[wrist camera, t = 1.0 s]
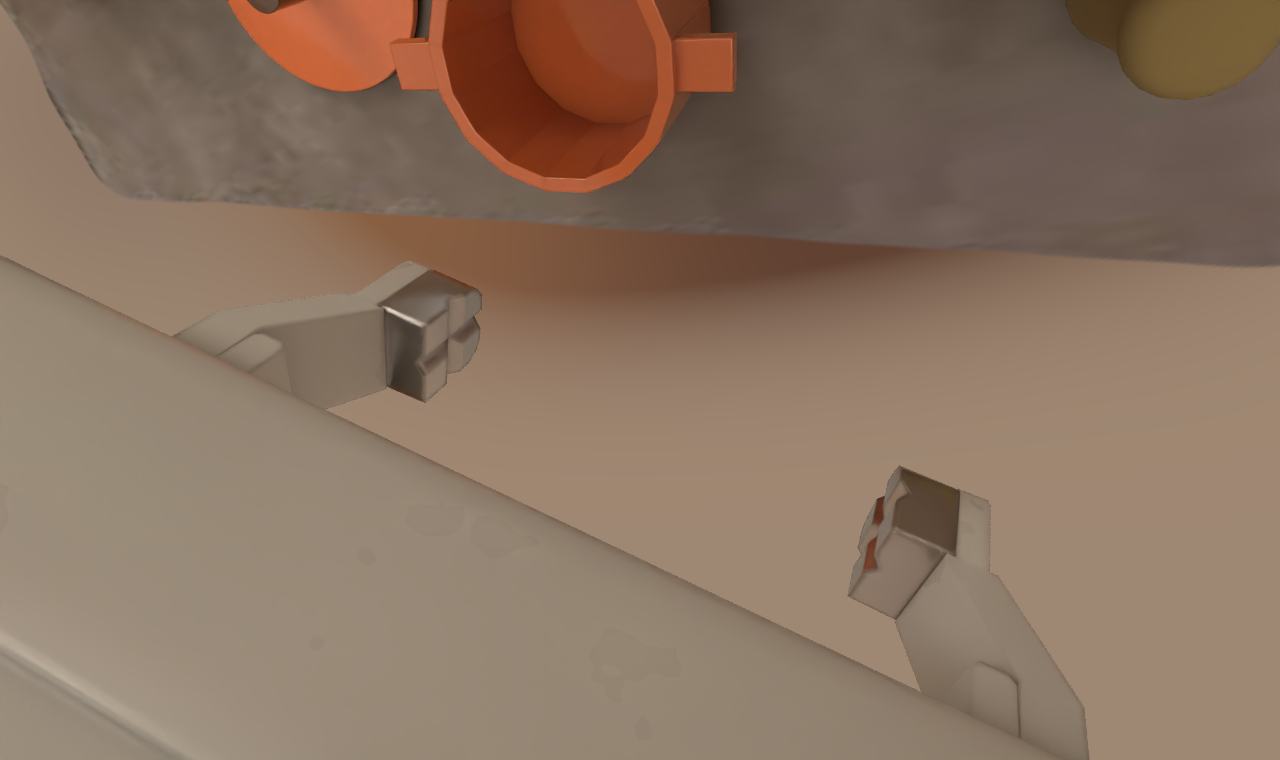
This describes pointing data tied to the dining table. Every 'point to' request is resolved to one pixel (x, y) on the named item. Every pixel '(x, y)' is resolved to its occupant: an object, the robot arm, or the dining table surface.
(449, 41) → the pot
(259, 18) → the lid
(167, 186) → the dining table surface
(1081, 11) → the cork
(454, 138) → the dining table surface
